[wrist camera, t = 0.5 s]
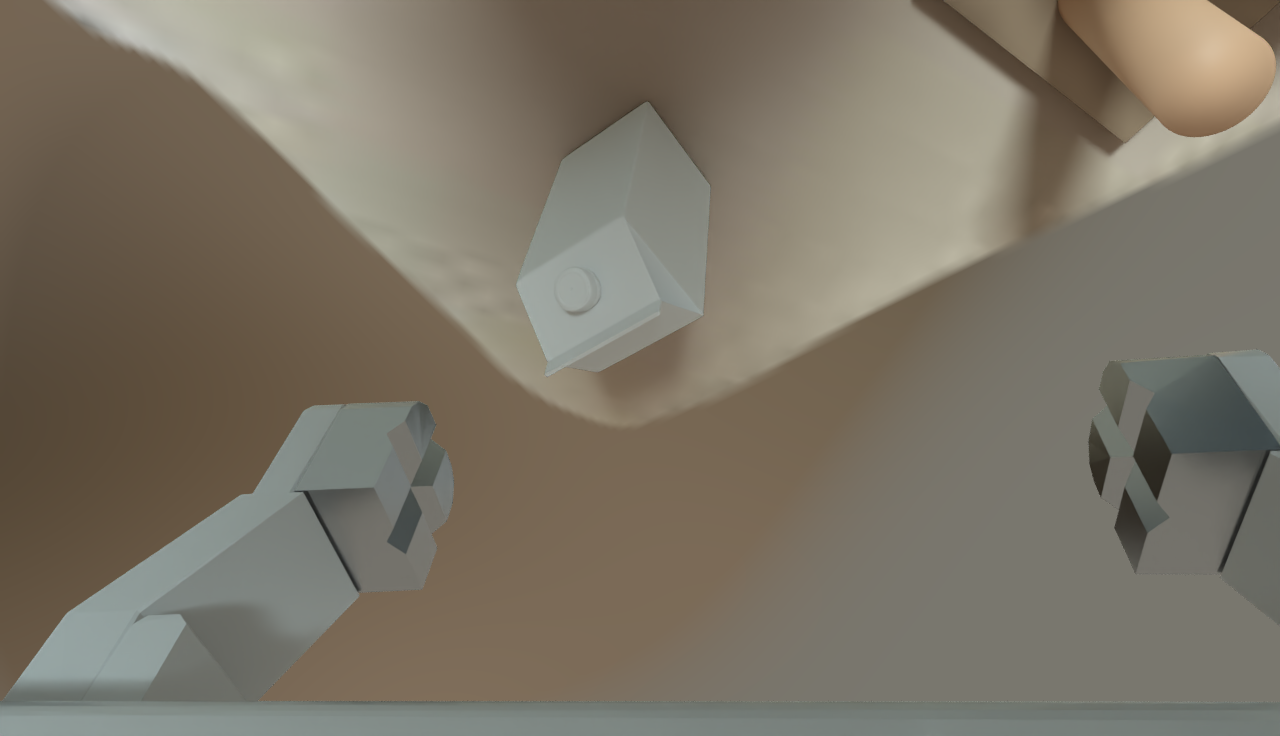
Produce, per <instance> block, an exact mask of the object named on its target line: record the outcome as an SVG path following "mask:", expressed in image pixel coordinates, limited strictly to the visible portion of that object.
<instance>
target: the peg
mask: <svg viewBox="0 0 1280 736" xmlns="http://www.w3.org/2000/svg"><path fill="white" fill-rule="evenodd" d="M1058 9H1059V12H1060V15H1061V17H1062V19H1063V20H1064V21H1065V22H1066V24H1067V25H1068V26H1069V27H1070V28H1071V29H1072V30H1073V31H1074V32H1075V33H1076V34H1077V35H1078V36H1079V37H1080V38H1081V39H1082V40H1083V41H1084V43H1085V44H1086V45H1087V46H1088V47H1089V48H1090V49H1091V50H1092V51H1093V52H1094V53H1095V54H1096V55H1097V56H1098V57H1099V58H1100V59H1101V60H1102V61H1103V62H1104V63H1105V65H1106V66H1107V67H1108V68H1109V69H1110V70H1111V71H1112V72H1113V73H1114V74H1115V75H1116V76H1117V77H1118V78H1119V79H1120V80H1121V81H1122V82H1123V83H1124V84H1125V85H1126V87H1127V88H1128V89H1129V90H1130V91H1131V92H1132V93H1133V94H1134V95H1135V96H1136V97H1137V98H1138V99H1139V100H1140V101H1141V102H1142V103H1143V104H1144V105H1145V106H1146V107H1147V109H1148V110H1149V111H1150V112H1151V113H1152V114H1153V115H1154V116H1155V117H1156V118H1157V119H1158V120H1159V121H1160V122H1161V123H1162V124H1163V125H1164V126H1165V127H1166V128H1167V129H1168V130H1170V131H1172V132H1173V133H1176V134H1178V135H1182V136H1187V137H1203V136H1209V135H1213V134H1217V133H1220V132H1222V131H1225V130H1227V129H1229V128H1231V127H1233V126H1235V125H1236V124H1238V123H1240V122H1241V121H1242V120H1244V119H1245V118H1246V117H1248V116H1249V115H1250V114H1251V113H1252V112H1253V111H1254V110H1255V109H1256V108H1257V107H1258V106H1259V105H1260V104H1261V102H1262V101H1263V100H1264V98H1265V97H1266V95H1267V94H1268V92H1269V90H1270V88H1271V86H1272V83H1273V81H1274V77H1275V72H1276V59H1275V55H1274V52H1273V50H1272V48H1271V46H1270V45H1269V44H1268V42H1266V41H1265V40H1264V39H1263V38H1262V37H1260V36H1259V35H1257V34H1256V33H1254V32H1253V31H1252V30H1250V29H1249V28H1247V27H1246V26H1244V25H1243V24H1241V23H1240V22H1238V21H1237V20H1235V19H1234V18H1232V17H1231V16H1230V15H1228V14H1227V13H1225V12H1224V11H1222V10H1221V9H1219V8H1218V7H1216V6H1215V5H1213V4H1212V3H1210V2H1209V1H1208V0H1058Z"/></svg>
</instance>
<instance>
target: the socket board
mask: <svg viewBox="0 0 1280 736" xmlns="http://www.w3.org/2000/svg"><path fill="white" fill-rule="evenodd" d="M943 1H945V2H946V3H947V4H948V5H950V6H951V7H952V8H953V9H955V10H956V11H957V12H959V13H960V14H961V15H962V16H964V17H965V18H966V19H967V20H969V21H970V22H971V23H973V24H974V25H975V26H976V27H978V28H979V29H980V30H981V31H983V32H984V33H985V34H987V35H988V36H989V37H990V38H992V39H993V40H994V41H996V42H997V43H998V44H999V45H1001V46H1002V47H1003V48H1004V49H1006V50H1007V51H1008V52H1010V53H1011V54H1012V55H1013V56H1015V57H1016V58H1017V59H1018V60H1020V61H1021V62H1022V63H1024V64H1025V65H1026V66H1027V67H1029V68H1030V69H1031V70H1032V71H1034V72H1035V73H1036V74H1038V75H1039V76H1040V77H1041V78H1043V79H1044V80H1045V81H1046V82H1048V83H1049V84H1050V85H1052V86H1053V87H1054V88H1055V89H1057V90H1058V91H1059V92H1060V93H1062V94H1063V95H1064V96H1066V97H1067V98H1068V99H1069V100H1071V101H1072V102H1073V103H1074V104H1076V105H1077V106H1078V107H1080V108H1081V109H1082V110H1083V111H1085V112H1086V113H1087V114H1089V115H1090V116H1091V117H1092V118H1094V119H1095V120H1096V121H1097V122H1099V123H1100V124H1101V125H1103V126H1104V127H1105V128H1106V129H1108V130H1109V131H1110V132H1111V133H1113V134H1114V135H1115V136H1117V137H1118V138H1119V139H1120V140H1122V141H1123V142H1124V143H1126V142H1127V141H1128V140H1129V139H1130V138H1131V137H1132V136H1133V135H1135V134H1136V133H1137V132H1138V131H1139V130H1140V129H1141V128H1142V127H1143V126H1144V125H1145V124H1147V123H1148V122H1149V121H1150V120H1151V119H1152V118H1153V117H1154V115H1153V114H1152V113H1151V112H1150V111H1149V110H1148V109H1147V107H1146V106H1145V105H1144V104H1143V103H1142V102H1141V101H1140V100H1139V99H1138V98H1137V97H1136V96H1135V95H1134V94H1133V93H1132V92H1131V91H1130V90H1129V89H1128V88H1127V87H1126V85H1125V84H1124V83H1123V82H1122V81H1121V80H1120V79H1119V78H1118V77H1117V76H1116V75H1115V74H1114V73H1113V72H1112V71H1111V70H1110V69H1109V68H1108V67H1107V66H1106V65H1105V63H1104V62H1103V61H1102V60H1101V59H1100V58H1099V57H1098V56H1097V55H1096V54H1095V53H1094V52H1093V51H1092V50H1091V49H1090V48H1089V47H1088V46H1087V45H1086V44H1085V43H1084V41H1083V40H1082V39H1081V38H1080V37H1079V36H1078V35H1077V34H1076V33H1075V32H1074V31H1073V30H1072V29H1071V28H1070V27H1069V26H1068V25H1067V24H1066V22H1065V21H1064V20H1063V19H1062V17H1061V15H1060V12H1059V9H1058V0H943ZM1208 1H1209V2H1210V3H1212V4H1213V5H1215V6H1216V7H1218V8H1219V9H1221V10H1222V11H1224V12H1225V13H1227V14H1228V15H1230V16H1231V17H1232V18H1234V19H1235V20H1237V21H1238V22H1240V23H1241V24H1243V25H1244V26H1246V27H1247V28H1249V29H1251V28H1252V27H1253V26H1254V25H1255V24H1256V23H1257V22H1258V21H1259V20H1260V19H1261V18H1263V17H1264V16H1265V15H1266V14H1267V13H1268V12H1269V11H1270V10H1271V9H1272V8H1274V7H1275V6H1276V5H1277V4H1278V3H1279V2H1280V0H1208Z"/></svg>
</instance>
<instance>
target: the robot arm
mask: <svg viewBox="0 0 1280 736" xmlns="http://www.w3.org/2000/svg"><path fill="white" fill-rule="evenodd" d="M1099 390H1100V392H1101V394H1102V396H1103V398H1104V400H1105V402H1106V404H1107V407H1105V408H1104V409H1103V410H1102V411H1101V412H1100V413H1099V414H1098V415H1096V416H1095V417H1094V418H1093V419H1092V424H1091V429H1090V435H1089V441H1088V443H1089V464H1090V468H1091V472H1092V476H1093V480H1094V483H1095V485H1096V487H1097V490H1098V492H1099V495H1100V497H1101V498H1102V499H1103V500H1105V501H1106V502H1108V503H1109V504H1111V505H1112V506H1114V507H1115V508H1117V509H1118V510H1119V512H1118V515H1117V519H1116V523H1115V527H1114V528H1115V530H1116V533H1117V535H1118V537H1119V539H1120V541H1121V544H1122V546H1123V548H1124V550H1125V552H1126V554H1127V556H1128V558H1129V561H1130V563H1131V565H1132V567H1133V570H1134V572H1135V574H1221V576H1220V578H1221V579H1222V580H1223V581H1224V582H1226V583H1227V584H1228V585H1229V586H1231V587H1232V588H1233V589H1234V590H1235V591H1237V592H1238V593H1239V594H1240V595H1242V596H1243V597H1244V598H1246V599H1247V600H1248V601H1249V602H1250V603H1252V604H1253V605H1254V606H1255V607H1257V608H1258V609H1259V610H1260V611H1262V612H1263V613H1264V614H1265V615H1266V616H1268V617H1269V618H1270V619H1272V620H1273V621H1274V622H1275V623H1277V624H1278V625H1279V626H1280V368H1279V367H1278V366H1277V365H1276V363H1275V362H1274V361H1273V360H1272V358H1271V357H1270V356H1269V355H1268V354H1266V353H1264V352H1262V351H1260V350H1246V351H1234V352H1221V353H1209V354H1207V355H1197V356H1183V357H1166V358H1151V359H1135V360H1121V361H1109V363H1108V364H1107V366H1106V368H1105V369H1104V371H1103V374H1102V378H1101V382H1100V387H1099ZM435 426H436V424H435V422H434V419H433V417H432V414H431V412H430V410H429V408H428V406H427V405H425V404H423V403H421V402H419V401H415V402H389V403H388V402H387V403H359V404H348V405H321V406H312V407H310V408H308V409H306V410H305V411H303V413H302V415H301V416H300V418H299V419H298V421H297V422H296V424H295V426H294V427H293V429H292V431H291V432H290V434H289V436H288V438H287V439H286V440H285V442H284V444H283V445H282V447H281V449H280V450H279V452H278V453H277V455H276V457H275V458H274V460H273V462H272V463H271V465H270V466H269V468H268V470H267V471H266V473H265V475H264V476H263V478H262V480H261V481H260V483H259V484H258V486H257V488H256V489H255V491H254V492H253V494H246V495H240V496H239V497H237V498H236V499H234V500H233V501H231V502H230V503H228V504H227V505H226V506H224V507H222V508H221V509H220V510H218V511H217V512H215V513H214V514H212V515H211V516H209V517H208V518H206V519H205V520H203V521H202V522H200V523H199V524H197V525H196V526H195V527H193V528H192V529H190V530H189V531H187V532H186V533H184V534H183V535H181V536H180V537H178V538H177V539H176V540H174V541H173V542H171V543H169V544H168V545H166V546H165V547H164V548H162V549H161V550H159V551H158V552H156V553H155V554H153V555H152V556H150V557H149V558H147V559H146V560H144V561H143V562H141V563H140V564H139V565H137V566H136V567H134V568H133V569H131V570H130V571H128V572H127V573H125V574H124V575H122V576H121V577H119V578H118V579H116V580H115V581H114V582H112V583H111V584H109V585H108V586H106V587H105V588H103V589H102V590H100V591H99V592H97V593H96V594H95V595H93V596H91V597H90V598H88V599H87V600H86V601H84V602H83V603H81V604H80V605H78V606H77V607H75V608H74V609H72V610H71V611H69V612H68V613H67V614H66V615H65V616H64V618H63V619H62V620H61V622H60V623H59V625H58V626H57V627H56V629H55V630H54V631H53V633H52V634H51V636H50V637H49V638H48V639H47V641H46V642H45V644H44V645H43V646H42V648H41V649H40V650H39V652H38V653H37V654H36V656H35V657H34V659H33V660H32V661H31V663H30V664H29V665H28V667H27V668H26V670H25V671H24V672H23V673H22V675H21V676H20V678H19V679H18V680H17V682H16V683H15V684H14V686H13V687H12V688H11V690H10V691H9V693H8V694H7V695H6V697H5V698H4V700H3V701H0V736H1280V702H747V701H745V702H743V701H741V702H740V701H737V702H736V701H730V702H727V701H725V702H724V701H716V702H715V701H713V702H711V701H706V702H705V701H700V702H699V701H697V702H696V701H695V702H694V701H691V702H690V701H686V702H685V701H679V702H678V701H653V702H651V701H645V702H644V701H637V702H636V701H258V700H259V699H260V698H261V697H262V696H263V695H264V694H265V693H266V692H267V691H268V690H269V689H270V688H271V687H272V685H274V683H275V682H276V681H277V680H278V679H279V678H280V677H281V676H282V675H283V674H284V673H285V672H286V671H287V670H288V669H289V668H290V667H291V666H292V665H293V664H294V663H295V662H296V661H297V660H298V659H299V658H300V657H301V656H302V655H303V654H304V653H305V652H306V651H307V650H308V648H309V647H310V646H311V645H312V644H313V643H314V642H315V641H316V640H317V639H318V638H319V637H320V636H321V635H322V634H323V633H324V632H325V631H326V630H327V629H328V628H329V627H330V626H331V625H332V624H333V623H334V622H335V621H336V620H337V619H338V618H339V617H340V616H341V614H342V613H343V612H344V611H345V610H346V609H347V608H348V607H349V606H350V605H351V604H352V603H353V602H354V601H355V600H356V599H357V598H358V597H359V594H358V593H359V592H360V593H361V592H380V591H400V590H419V589H423V586H424V583H425V581H426V578H427V575H428V572H429V569H430V566H431V564H432V561H433V558H434V555H435V553H436V550H437V546H436V544H435V541H434V539H433V537H432V533H433V532H434V531H436V529H438V528H439V527H440V526H441V525H443V524H444V523H445V522H446V521H447V519H448V515H449V512H450V509H451V506H452V503H453V488H454V478H453V472H452V466H451V463H450V460H449V457H448V455H447V452H446V450H445V449H443V448H442V447H440V446H439V445H438V444H437V443H435V442H434V441H432V440H431V436H432V434H433V431H434V429H435Z"/></svg>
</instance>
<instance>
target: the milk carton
mask: <svg viewBox="0 0 1280 736" xmlns="http://www.w3.org/2000/svg"><path fill="white" fill-rule="evenodd" d="M710 193H711V187H710V185H709V183H708V182H707V181H706V179H705V178H704V177H703V175H702V174H701V173H700V171H699V170H698V168H697V167H696V166H695V164H694V163H693V162H692V160H691V159H690V158H689V156H688V155H687V153H686V152H685V151H684V149H683V148H682V147H681V145H680V144H679V143H678V141H677V140H676V138H675V137H674V136H673V134H672V133H671V132H670V130H669V129H668V128H667V126H666V125H665V123H664V122H663V121H662V119H661V118H660V117H659V115H658V114H657V113H656V111H655V110H654V108H653V107H652V106H651V104H650V103H649V102H645V103H643V104H642V105H640V106H639V107H637V108H636V109H634V110H633V111H631V112H630V113H628V114H627V115H626V116H624V117H623V118H621V119H620V120H618V121H617V122H615V123H614V124H612V125H611V126H610V127H608V128H607V129H605V130H604V131H602V132H601V133H599V134H598V135H597V136H595V137H594V138H592V139H591V140H589V141H588V142H586V143H585V144H583V145H582V146H581V147H579V148H578V149H576V150H575V151H573V152H572V153H570V154H569V155H568V156H566V157H565V158H564V159H563V160H562V161H561V164H560V166H559V169H558V172H557V174H556V177H555V180H554V182H553V185H552V188H551V190H550V193H549V196H548V198H547V201H546V204H545V207H544V209H543V212H542V215H541V217H540V220H539V223H538V225H537V228H536V231H535V233H534V236H533V239H532V241H531V244H530V247H529V249H528V252H527V255H526V257H525V260H524V263H523V265H522V268H521V271H520V274H519V277H518V280H517V283H516V287H517V289H518V292H519V294H520V297H521V299H522V302H523V304H524V306H525V309H526V311H527V314H528V316H529V319H530V321H531V323H532V326H533V328H534V331H535V333H536V336H537V338H538V340H539V343H540V345H541V348H542V350H543V353H544V355H545V357H546V360H547V362H548V363H547V367H546V370H545V374H544V375H545V376H546V377H548V376H550V375H552V374H554V373H556V372H557V371H559V370H561V369H563V368H565V367H569V368H575V369H581V370H586V371H592V372H600V371H602V370H604V369H606V368H608V367H610V366H611V365H613V364H615V363H617V362H619V361H621V360H623V359H625V358H626V357H628V356H630V355H632V354H634V353H636V352H638V351H639V350H641V349H643V348H645V347H647V346H649V345H651V344H652V343H654V342H656V341H658V340H660V339H662V338H664V337H665V336H667V335H669V334H671V333H673V332H675V331H677V330H678V329H680V328H682V327H684V326H686V325H688V324H690V323H691V322H693V321H695V320H697V319H699V318H700V317H702V316H704V315H703V313H704V296H705V279H706V262H707V245H708V227H709V210H710Z"/></svg>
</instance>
